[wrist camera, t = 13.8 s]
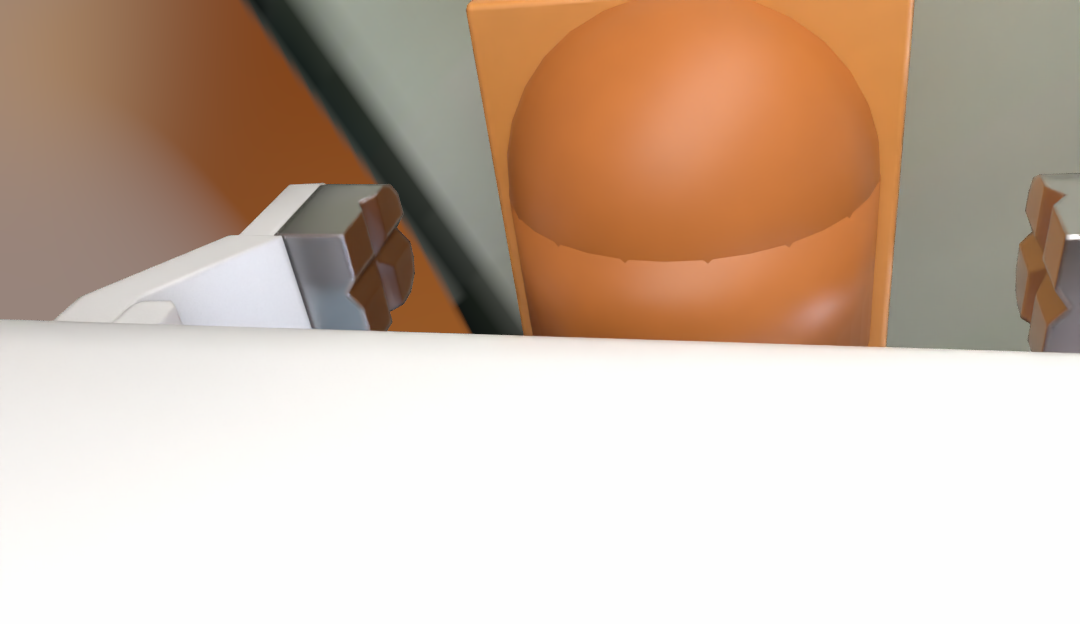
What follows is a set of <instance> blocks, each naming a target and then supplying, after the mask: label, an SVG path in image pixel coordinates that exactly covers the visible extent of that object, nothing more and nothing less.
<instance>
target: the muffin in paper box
mask: <svg viewBox="0 0 1080 624" xmlns="http://www.w3.org/2000/svg"><path fill="white" fill-rule="evenodd" d="M914 2H915V0H472V1H471V2H470V3H469V4H468V5H467V8H466V12H467V18H468V24H469V29H470V35H471V41H472V46H473V52H474V57H475V63H476V69H477V74H478V80H479V86H480V91H481V97H482V102H483V108H484V114H485V119H486V125H487V131H488V136H489V142H490V148H491V153H492V159H493V164H494V170H495V176H496V181H497V187H498V193H499V198H500V204H501V210H502V215H503V221H504V226H505V232H506V238H507V243H508V249H509V255H510V260H511V266H512V271H513V277H514V283H515V288H516V294H517V300H518V305H519V311H520V317H521V322H522V328H523V333H524V336H549V337H581V338H612V339H643V340H675V341H706V342H738V343H769V344H801V345H832V346H864V347H886V340H887V328H888V316H889V304H890V292H891V280H892V268H893V256H894V244H895V231H896V219H897V207H898V195H899V183H900V171H901V159H902V147H903V135H904V123H905V110H906V98H907V86H908V74H909V62H910V50H911V38H912V26H913V14H914Z"/></svg>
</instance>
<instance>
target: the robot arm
mask: <svg viewBox="0 0 1080 624" xmlns="http://www.w3.org/2000/svg"><path fill="white" fill-rule="evenodd" d="M1025 212H1026V214H1027V217H1028V220H1029V223H1030V226H1031V229H1032V232H1031V233H1030V234H1029V235H1028V236H1027V237H1026V238H1025V239H1024V240H1023V241H1022V242H1021V243H1020V244H1019V251H1018V258H1017V265H1016V285H1015V291H1016V299H1017V306H1018V310H1019V313H1020V317H1021V318H1022V319H1023V320H1025V321H1026V322H1028V323H1030V329H1029V335H1028V343H1029V346H1030V350H1031V352H1023V351H991V350H959V349H927V348H896V347H864V346H832V345H801V344H769V343H738V342H706V341H675V340H643V339H612V338H581V337H549V336H518V335H486V334H455V333H453V334H452V333H423V332H391V331H387V330H388V328H389V327H390V325H391V324H392V318H391V315H390V311H392V310H394V309H396V308H398V307H399V306H401V305H403V304H404V303H405V301H406V300H407V298H408V296H409V294H410V293H411V289H412V284H413V279H414V274H415V272H414V256H413V252H412V248H411V243H410V241H409V240H408V239H407V238H406V237H405V236H404V235H403V234H402V233H401V232H400V231H399V230H398V229H397V226H398V224H399V222H400V220H401V218H402V216H403V210H402V207H401V203H400V200H399V196H398V193H397V192H396V190H395V189H394V188H393V187H392V186H391V185H390V184H324V183H317V184H299V185H289V186H288V187H287V188H286V189H285V190H284V191H283V192H282V193H281V194H280V195H279V196H278V197H277V198H276V199H275V200H274V201H273V202H272V203H271V204H270V205H269V206H268V207H267V208H266V209H265V210H264V211H263V212H262V213H261V214H260V215H259V216H258V217H257V218H256V219H255V220H254V221H253V222H252V223H251V224H250V225H249V226H248V227H247V228H246V229H245V230H244V231H243V232H242V233H241V234H240V235H237V236H236V235H229V236H227V237H224V238H222V239H220V240H217V241H215V242H212V243H210V244H207V245H205V246H203V247H200V248H198V249H195V250H193V251H190V252H188V253H186V254H183V255H181V256H178V257H176V258H173V259H171V260H169V261H166V262H164V263H161V264H159V265H156V266H154V267H152V268H149V269H147V270H144V271H142V272H139V273H137V274H135V275H132V276H130V277H127V278H125V279H122V280H120V281H117V282H115V283H113V284H110V285H108V286H105V287H103V288H100V289H98V290H96V291H93V292H91V293H89V294H86V295H84V296H81V297H79V298H78V299H77V300H76V301H75V302H74V303H73V304H71V305H70V306H69V307H68V308H67V309H66V310H65V311H63V312H62V313H61V314H60V315H59V316H58V317H57V318H55V319H54V320H53V321H40V320H7V319H0V624H1080V173H1067V174H1039V175H1037V176H1035V177H1033V179H1032V182H1031V186H1030V189H1029V192H1028V198H1027V203H1026V208H1025Z"/></svg>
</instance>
